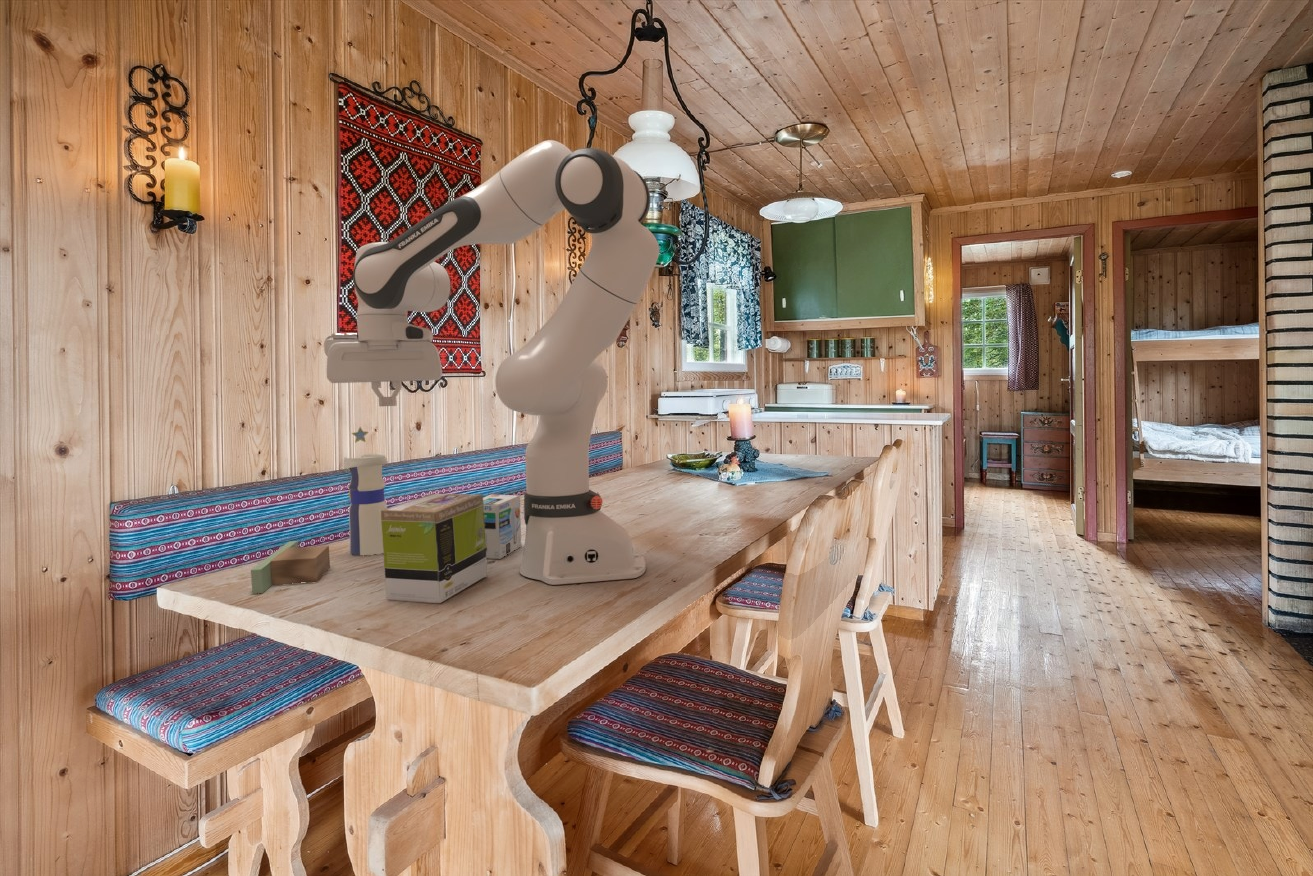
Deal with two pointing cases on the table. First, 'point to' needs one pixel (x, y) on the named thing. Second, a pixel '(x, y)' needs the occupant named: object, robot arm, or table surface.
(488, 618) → the table surface
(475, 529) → the tea box
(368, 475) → the water bottle
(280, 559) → the walnut block
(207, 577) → the table surface
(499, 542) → the light bulb box
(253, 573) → the green board
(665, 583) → the table surface
